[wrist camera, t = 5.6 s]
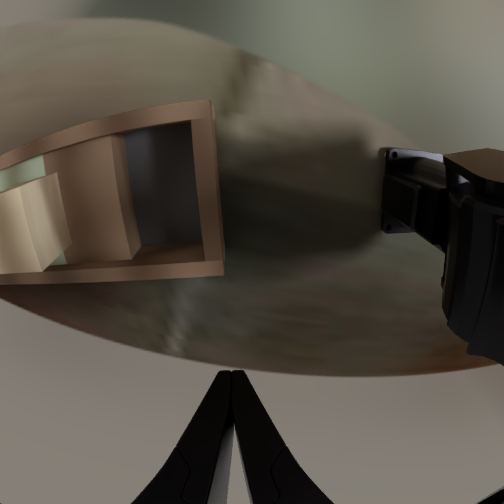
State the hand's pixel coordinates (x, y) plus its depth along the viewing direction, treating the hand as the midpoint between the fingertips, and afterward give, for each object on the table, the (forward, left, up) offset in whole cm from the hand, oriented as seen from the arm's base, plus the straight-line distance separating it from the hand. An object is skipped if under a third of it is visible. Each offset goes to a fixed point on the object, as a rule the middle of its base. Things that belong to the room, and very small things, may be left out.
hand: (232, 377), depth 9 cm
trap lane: (+12, -4, -12) cm, 17 cm away
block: (+13, -4, -9) cm, 17 cm away
